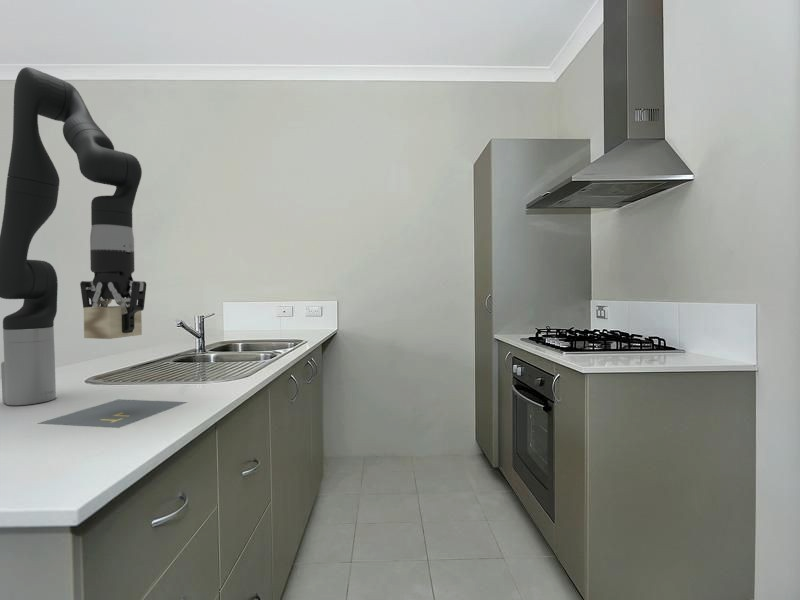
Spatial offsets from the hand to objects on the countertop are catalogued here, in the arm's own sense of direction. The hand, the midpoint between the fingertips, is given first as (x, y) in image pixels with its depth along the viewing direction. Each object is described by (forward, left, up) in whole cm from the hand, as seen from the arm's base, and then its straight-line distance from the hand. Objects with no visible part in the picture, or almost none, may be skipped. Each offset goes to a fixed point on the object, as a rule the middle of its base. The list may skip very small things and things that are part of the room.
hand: (113, 331), depth 92 cm
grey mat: (0, +1, -17) cm, 17 cm away
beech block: (0, 0, -1) cm, 1 cm away
